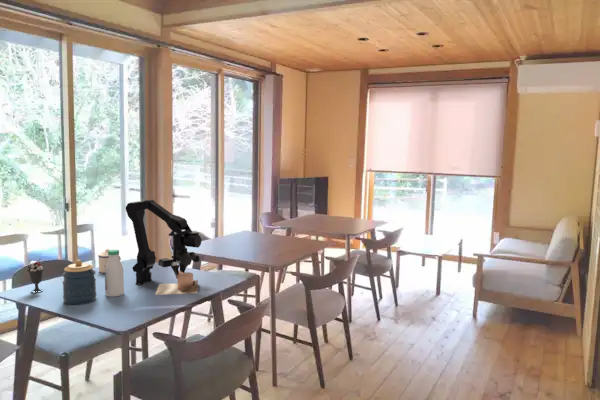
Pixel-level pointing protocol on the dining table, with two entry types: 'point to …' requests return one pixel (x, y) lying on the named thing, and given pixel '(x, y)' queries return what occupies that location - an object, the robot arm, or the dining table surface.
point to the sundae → (36, 274)
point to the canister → (79, 283)
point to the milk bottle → (114, 275)
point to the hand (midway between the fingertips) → (179, 278)
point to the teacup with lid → (103, 260)
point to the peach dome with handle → (184, 279)
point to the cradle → (176, 289)
